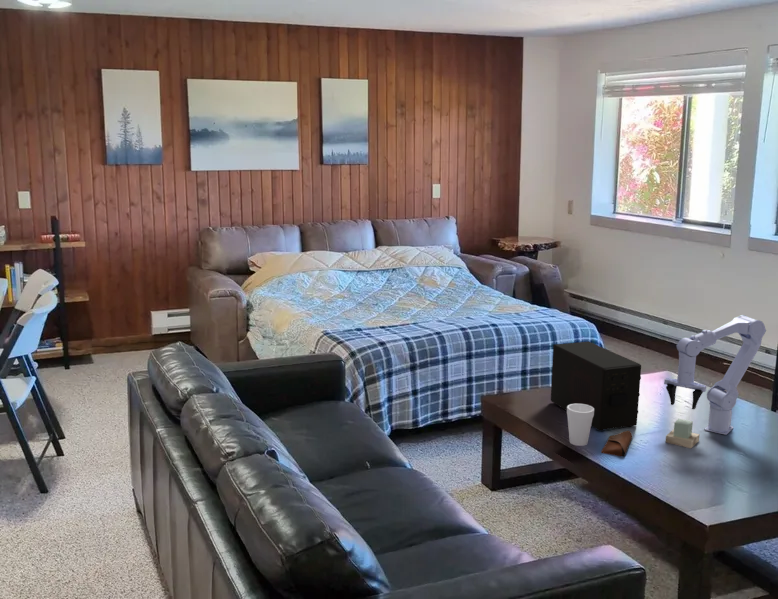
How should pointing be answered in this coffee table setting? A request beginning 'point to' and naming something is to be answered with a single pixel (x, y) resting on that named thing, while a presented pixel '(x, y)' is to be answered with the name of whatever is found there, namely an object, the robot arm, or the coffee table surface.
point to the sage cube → (683, 428)
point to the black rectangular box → (596, 383)
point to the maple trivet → (682, 440)
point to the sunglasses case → (618, 444)
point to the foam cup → (579, 423)
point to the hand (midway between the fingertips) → (683, 406)
